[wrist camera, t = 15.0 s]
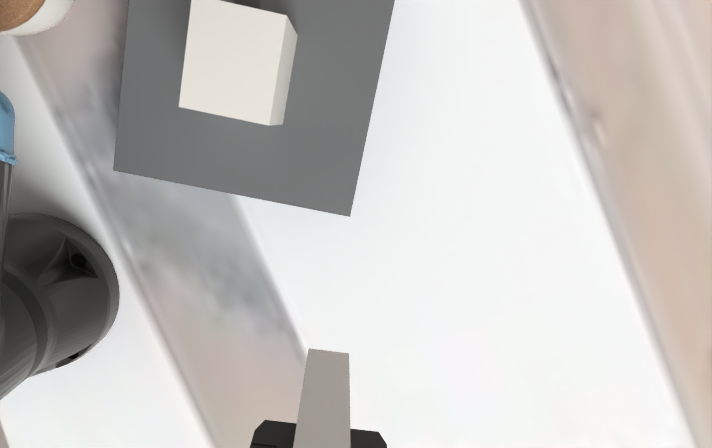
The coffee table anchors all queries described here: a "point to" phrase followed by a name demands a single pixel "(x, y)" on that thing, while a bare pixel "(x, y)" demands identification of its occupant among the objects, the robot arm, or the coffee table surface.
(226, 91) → the plug
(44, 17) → the lidded jar
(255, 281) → the coffee table surface
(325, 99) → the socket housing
